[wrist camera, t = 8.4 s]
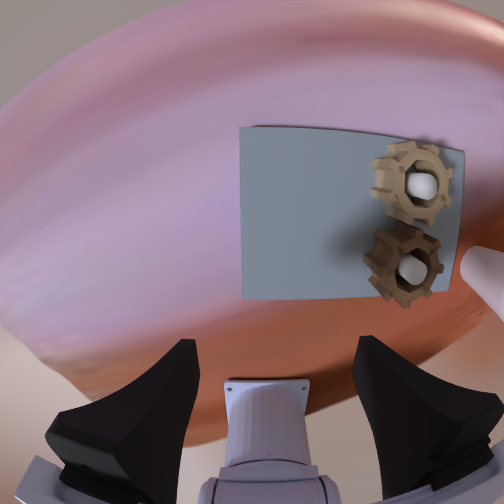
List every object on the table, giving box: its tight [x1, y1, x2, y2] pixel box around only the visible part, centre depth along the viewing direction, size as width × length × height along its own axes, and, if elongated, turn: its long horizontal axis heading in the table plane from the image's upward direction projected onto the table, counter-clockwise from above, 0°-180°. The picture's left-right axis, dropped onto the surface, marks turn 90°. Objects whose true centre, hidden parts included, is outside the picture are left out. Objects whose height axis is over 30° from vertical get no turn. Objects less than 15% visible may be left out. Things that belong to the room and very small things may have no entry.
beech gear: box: [369, 141, 454, 226], centre depth 16 cm, size 5×5×3 cm
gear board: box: [239, 127, 464, 300], centre depth 17 cm, size 12×18×5 cm, turn 90°
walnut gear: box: [363, 221, 444, 308], centre depth 17 cm, size 5×5×3 cm
